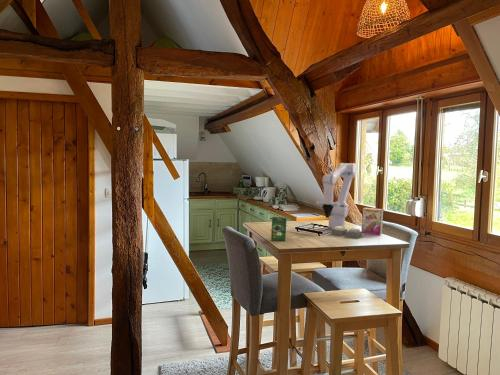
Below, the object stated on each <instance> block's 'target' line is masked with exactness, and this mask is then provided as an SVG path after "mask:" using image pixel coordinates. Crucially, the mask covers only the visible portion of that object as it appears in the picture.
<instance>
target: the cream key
mask: <svg viewBox="0 0 500 375" xmlns="http://www.w3.org/2000/svg"><path fill="white" fill-rule="evenodd" d="M345 229H346V227H341V226H336V227H335V228H334V230H341V231H342V230H345Z"/></svg>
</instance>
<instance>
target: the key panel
mask: <svg viewBox="0 0 500 375" xmlns="http://www.w3.org/2000/svg"><path fill="white" fill-rule="evenodd" d="M329 236H335V237H341V238H342V237H343V238H348V239H353V240H359V239H363V238H365V236H364V235H363V233H362V230H360V231H359V232H358V233H354V232H349V229H347V228H345V230H342V231H341V230H334V229H331V233H329Z"/></svg>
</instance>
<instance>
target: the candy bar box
mask: <svg viewBox="0 0 500 375" xmlns="http://www.w3.org/2000/svg"><path fill="white" fill-rule="evenodd" d="M361 213H362V215H361V231H362V234H364V235H365V234H366V235H375V236H381V235H382V234H383V220H384V219H383V218H384V209H382V208H371V207H363V208H362V212H361Z"/></svg>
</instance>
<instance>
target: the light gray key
mask: <svg viewBox="0 0 500 375" xmlns="http://www.w3.org/2000/svg"><path fill="white" fill-rule="evenodd" d="M348 231H349V232H354V233H358V232H359V231H361V230H360V228H355V227H352V228H349V229H348Z"/></svg>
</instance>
